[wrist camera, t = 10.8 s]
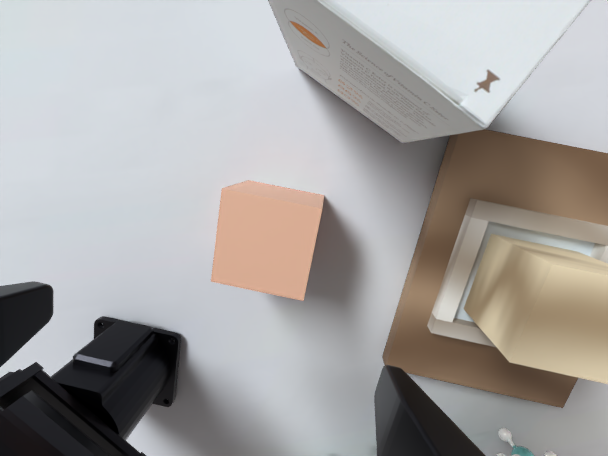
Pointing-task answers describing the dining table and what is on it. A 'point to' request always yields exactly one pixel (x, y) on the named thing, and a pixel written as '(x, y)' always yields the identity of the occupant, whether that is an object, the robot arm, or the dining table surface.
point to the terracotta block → (266, 238)
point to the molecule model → (519, 453)
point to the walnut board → (471, 246)
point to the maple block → (543, 307)
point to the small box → (423, 56)
